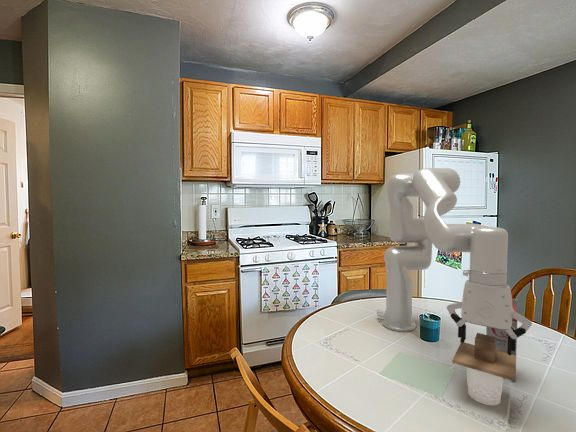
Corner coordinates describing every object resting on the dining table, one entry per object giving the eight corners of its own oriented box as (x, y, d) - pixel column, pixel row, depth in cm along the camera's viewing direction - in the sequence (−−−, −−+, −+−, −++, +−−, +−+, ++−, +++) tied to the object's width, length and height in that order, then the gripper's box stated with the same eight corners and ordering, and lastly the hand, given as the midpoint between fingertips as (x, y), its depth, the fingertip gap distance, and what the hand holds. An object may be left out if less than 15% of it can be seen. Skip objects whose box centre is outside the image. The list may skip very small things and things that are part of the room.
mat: (379, 377, 84) (379, 373, 84) (398, 354, 97) (398, 351, 97) (441, 401, 74) (441, 397, 74) (454, 372, 87) (454, 369, 87)
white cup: (497, 393, 77) (498, 355, 77) (508, 414, 70) (509, 372, 69) (462, 387, 80) (463, 350, 79) (469, 406, 72) (470, 366, 72)
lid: (452, 362, 73) (453, 339, 73) (461, 344, 83) (461, 323, 82) (514, 381, 66) (515, 355, 66) (516, 358, 75) (517, 336, 75)
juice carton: (515, 382, 82) (518, 302, 81) (485, 374, 86) (488, 298, 85) (512, 370, 88) (515, 296, 87) (485, 364, 91) (487, 292, 90)
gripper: (444, 275, 76) (443, 342, 77) (533, 287, 65) (530, 365, 66) (451, 270, 82) (449, 332, 82) (533, 280, 71) (530, 351, 72)
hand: (485, 346), depth 74 cm, fingers open, 9 cm apart
